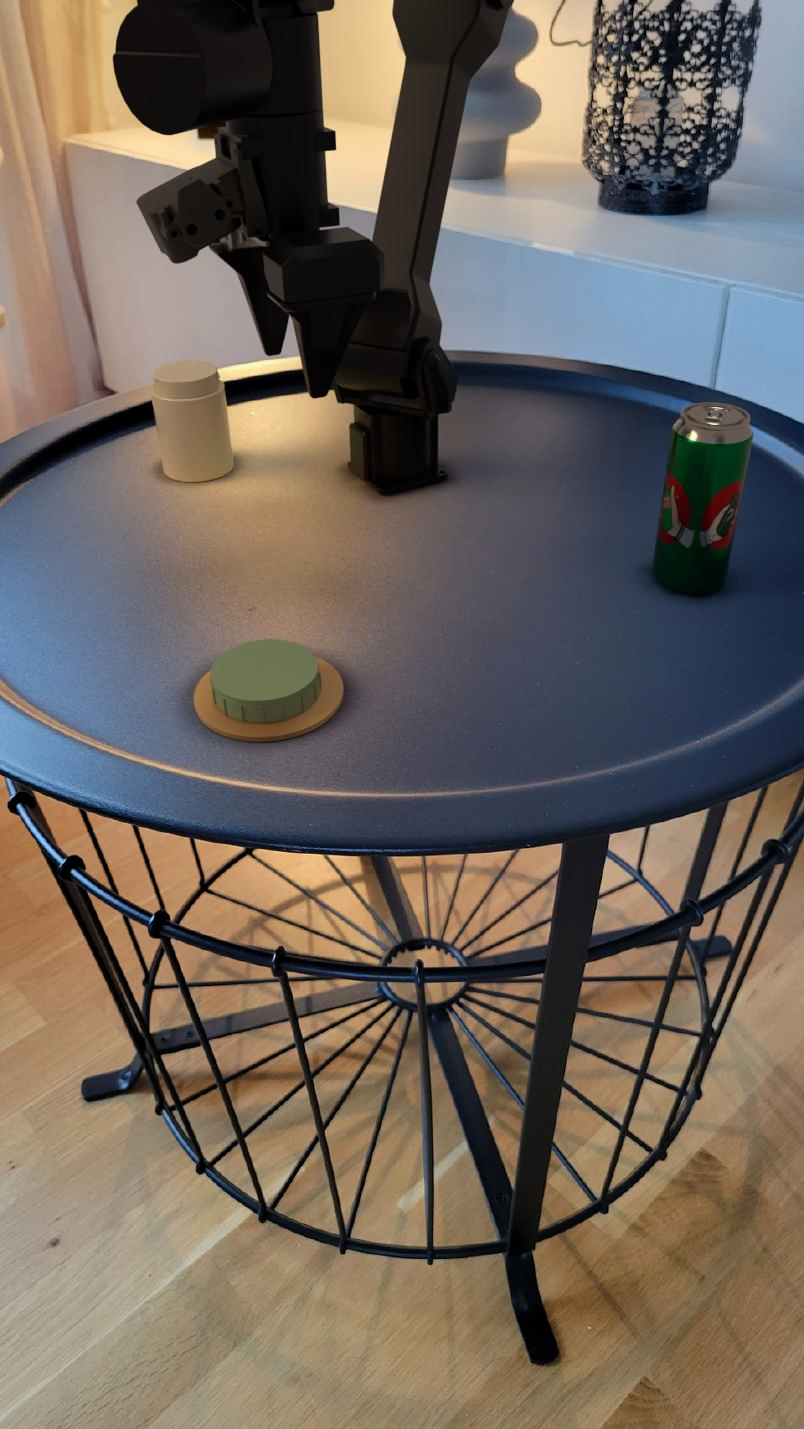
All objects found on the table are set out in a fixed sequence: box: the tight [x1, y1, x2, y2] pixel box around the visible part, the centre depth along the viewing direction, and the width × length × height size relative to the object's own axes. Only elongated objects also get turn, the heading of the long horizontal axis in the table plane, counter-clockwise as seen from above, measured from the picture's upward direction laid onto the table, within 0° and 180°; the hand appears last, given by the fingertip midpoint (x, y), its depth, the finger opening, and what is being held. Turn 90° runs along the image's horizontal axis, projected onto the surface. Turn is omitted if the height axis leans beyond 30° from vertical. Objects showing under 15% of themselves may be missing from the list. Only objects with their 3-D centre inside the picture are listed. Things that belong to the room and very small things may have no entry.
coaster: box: [193, 655, 345, 743], centre depth 64 cm, size 9×9×1 cm
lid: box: [209, 638, 321, 723], centre depth 63 cm, size 6×6×2 cm
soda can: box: [651, 401, 754, 595], centre depth 70 cm, size 5×5×12 cm
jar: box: [150, 359, 235, 483], centre depth 88 cm, size 6×6×8 cm
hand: (294, 375), depth 71 cm, fingers open, 9 cm apart
